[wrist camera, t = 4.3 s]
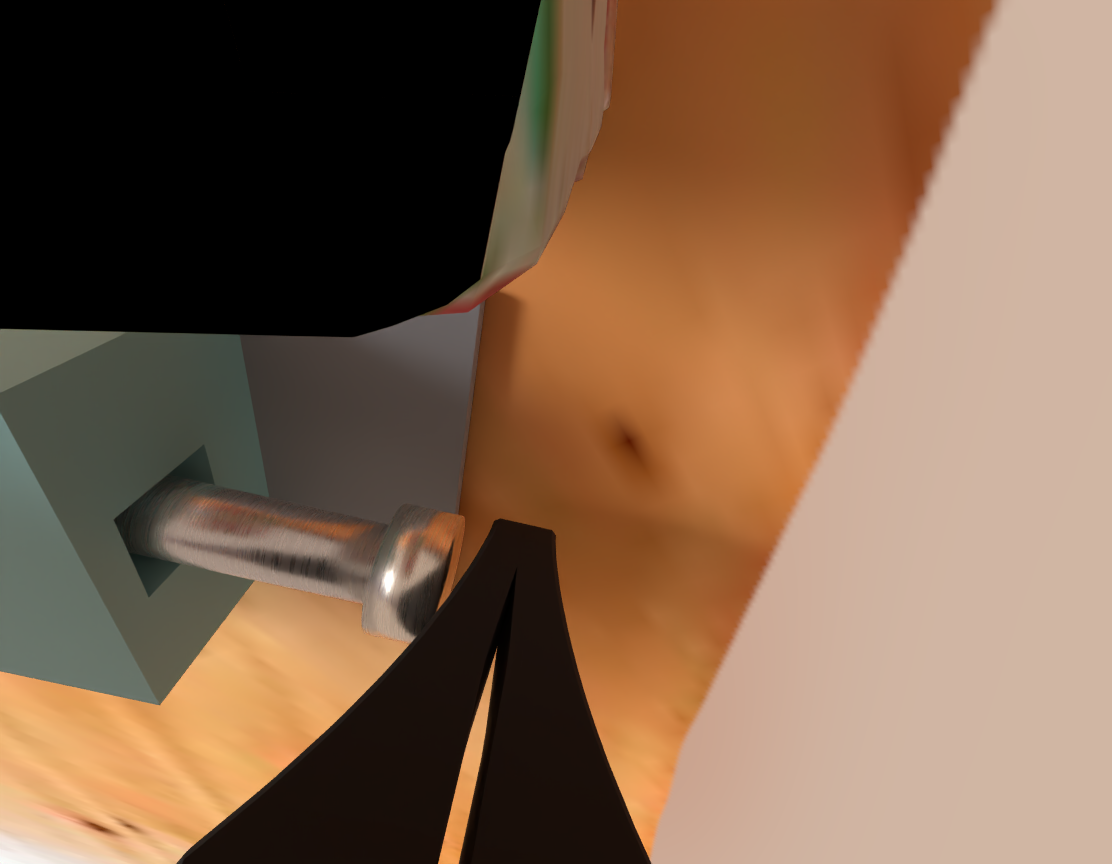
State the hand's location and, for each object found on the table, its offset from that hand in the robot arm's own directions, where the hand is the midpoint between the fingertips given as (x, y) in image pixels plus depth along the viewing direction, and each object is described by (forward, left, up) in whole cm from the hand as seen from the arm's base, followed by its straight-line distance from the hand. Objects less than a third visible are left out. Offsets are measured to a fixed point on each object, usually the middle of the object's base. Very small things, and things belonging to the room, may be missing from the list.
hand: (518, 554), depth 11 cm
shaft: (-4, +5, 0) cm, 7 cm away
